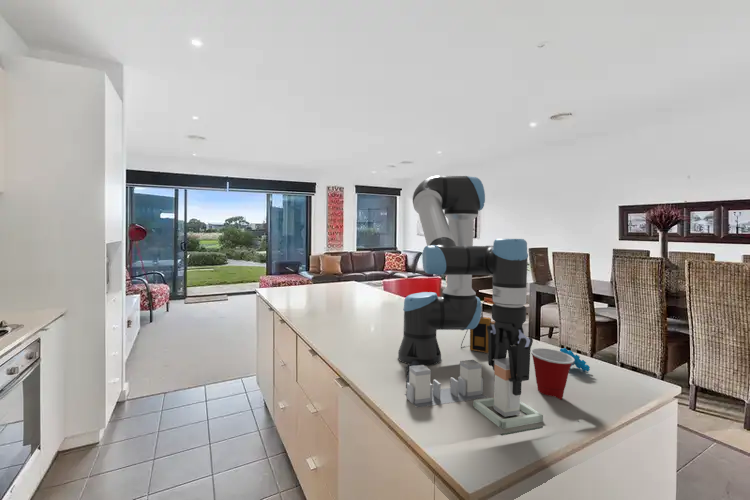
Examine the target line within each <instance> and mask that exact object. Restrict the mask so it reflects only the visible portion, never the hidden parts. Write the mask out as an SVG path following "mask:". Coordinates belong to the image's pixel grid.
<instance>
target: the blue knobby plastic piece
mask: <svg viewBox="0 0 750 500" xmlns="http://www.w3.org/2000/svg"><path fill="white" fill-rule="evenodd" d="M559 351H560V352H563V353H566V354H568V355H570V356H572V357H573V358H574V359H575V361H574V362H573V363H572V365H571V367H572V366H574V365H575V367H576V368H577V369H581V370H582V371H583V372H589V371H590V370H591V369H590V368H591V366H589V365H588V364H587V362H586V361H585V360H584V359H582V360H581V359H580V357H581V356H580V355H578V354H574V351H572V350H568V349H567V348H566V347H564V348H562V347H561V348H560V349H559Z"/></svg>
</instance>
